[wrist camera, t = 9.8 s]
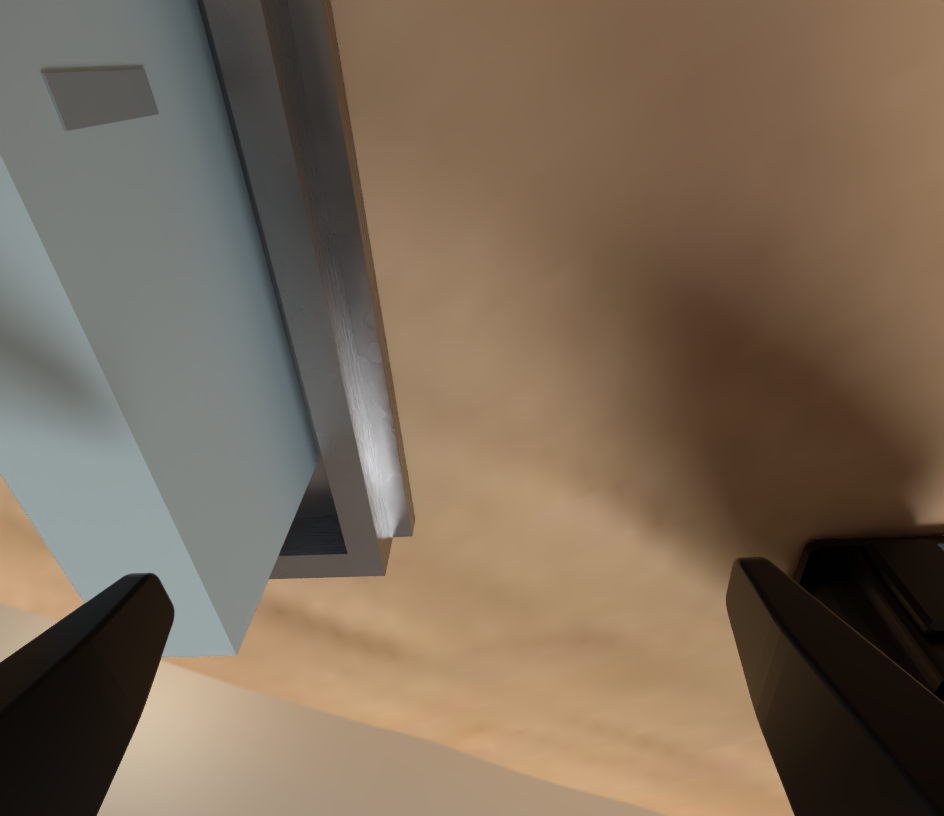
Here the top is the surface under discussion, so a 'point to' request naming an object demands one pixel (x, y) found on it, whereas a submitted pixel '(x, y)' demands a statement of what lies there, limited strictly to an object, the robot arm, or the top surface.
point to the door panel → (140, 317)
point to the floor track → (317, 275)
